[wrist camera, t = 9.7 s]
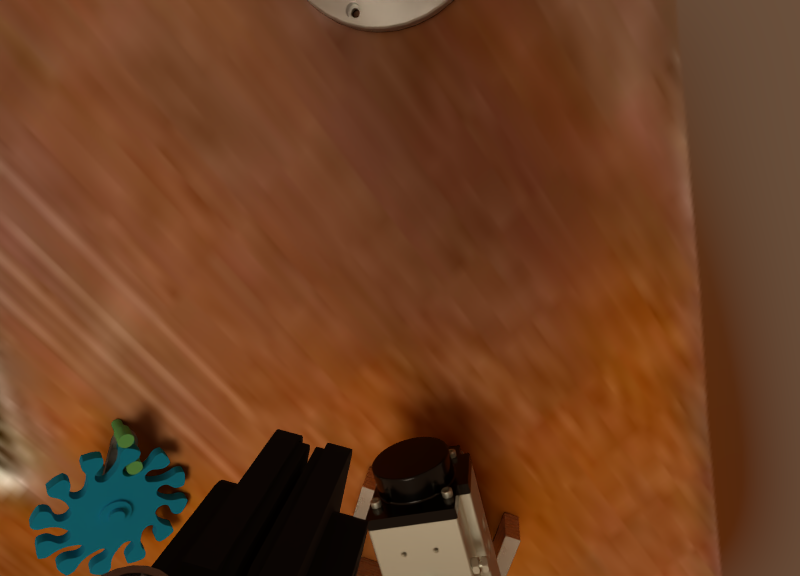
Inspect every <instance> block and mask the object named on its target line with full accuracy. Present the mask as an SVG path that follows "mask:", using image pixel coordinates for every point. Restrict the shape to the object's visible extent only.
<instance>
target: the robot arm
mask: <svg viewBox="0 0 800 576" xmlns="http://www.w3.org/2000/svg"><path fill="white" fill-rule="evenodd" d="M307 1H308V2H309V3H310V4H311V5H312V6H314V7H315V8H316V9H317V10H318V11H320V12H321V13H322V14H324V15H326V16H327V17H329V18H331V19H332V20H334V21H336V22H337V23H339V24H342V25H345V26H348V27H351V28H354V29H357V30H363V31H372V32H386V31H397V30H401V29H404V28H407V27H411V26H414V25H417V24H419V23H421V22H423V21H425V20H427V19H429V18H430V17H432V16H434V15H436V14H437V13H439V12H440V11H441V10H442V9H444V8H445V7H446V6H447V5H448V4H450V3H451V2H452V1H453V0H307ZM355 10H359V11H360V15H359V17H357V18H354V17H353V12H354V11H355ZM302 442H303V437H302V435H298V434H294V433H290V432H287V431H283V430H279V429H278V430H276V432H275V433H274V434H273V436H272V437H271V438H270V440H269V441H268V443H267V444H266V445H265V447H264V448H263V449H262V451H261V452H260V454H259V455H258V456H257V458H256V459H255V461H254V462H253V463H252V465H251V466H250V468H249V469H248V470H247V472H246V473H245V475H244V476H243V477H242V479H241V480H240V481H239V483H238V484H236V483H232V482H229V481H225V480H221V481H219V482H218V483H217V484H216V485H215V486H214V487H213V488H212V490H211V491H210V492H209V494H208V495H207V496H206V497H205V499H204V500H203V501H202V503H201V504H200V505H199V506H198V508H197V509H196V510H195V511H194V513H193V514H192V515H191V517H190V518H189V519H188V520H187V522H186V523H185V524H184V526H183V527H182V528H181V529H180V531H179V532H178V533H177V534H176V536H175V537H174V538H173V540H172V541H171V542H170V543H169V545H168V546H167V547H166V549H165V550H164V551H163V552H162V554H161V555H160V556H159V557H158V559H157V560H156V561H155V563H154V564H153V565H152V566H151V567H149V566H134V565H133V566H127V567H122V568H117V569H115V570H112V571H110V572H108V573H105V574H103V575H101V576H356V575H357V571H358V567H359V563H360V559H361V555H362V551H363V547H364V542H365V538H366V534H367V529H368V524H369V521H368V520H364V519H361V518H357V517H353V516H350V515H346V514H343V513H339V512H340V508H341V503H342V498H343V494H344V489H345V484H346V479H347V475H348V470H349V465H350V461H351V456H352V449H350V448H346V447H342V446H339V445H335V444H331V443H327V445H326V446H325V448H324V449H323V448H319V447H316V448H315V450H314V452H313V454H312V455H311V457H310V459H309V461H308V455H309V450H310V445H308V444H305V443H302ZM307 461H308V463H307Z"/></svg>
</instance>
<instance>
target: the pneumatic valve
mask: <svg viewBox="0 0 800 576" xmlns="http://www.w3.org/2000/svg"><path fill="white" fill-rule="evenodd" d="M372 472H373V476H374V479H375V482H376V488H375V491H374V494H373V497H372V500H371V501H370V503H371V504H370V507H369V510H368V513H367V516H366V519H365V520H368V521H369V524H368V531H369V534H370V538H371V541H372V544H373V547H374V551H375V554H376V557H377V561H378V564H379V567H380V570H381V574H382V576H501V574H500V570H499V566H498V563H497V559H496V555H495V551H494V547H493V543H492V539H491V535H490V532H489V528H488V524H487V520H486V516H485V512H484V508H483V504H482V501H481V497H480V493H479V489H478V485H477V481H476V477H475V473H474V470H473V466H472V462H471V458H470V454H469V453H465V454H463V451H461V449H460V446H459V445H457V446H451V447H448V446H447V445H446V443H445V442H443V441H442V440H440V439H437V438H432V437H418V438H412V439H407V440H404V441H401V442H399V443H396V444H394V445H392V446H390V447H388V448H387V449H385V450H384V451H382V452H381V453H380V454H379V455H378V456H377V457H376V459H375V460H374V462H373V464H372Z"/></svg>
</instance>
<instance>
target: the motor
mask: <svg viewBox="0 0 800 576" xmlns="http://www.w3.org/2000/svg"><path fill="white" fill-rule="evenodd" d="M375 488H376V482H375V479H374V476H373V472H372V467H369V470H368V473H367V476H366V478H365V481H364V484H363V487H362V490H361V493H360V496H359V500H358V503H357V506H356V509H355V513H354V516H353V517H357V518H361V519H364V520H365V519H366V516H367V513H368V510H369V507H370V504H371V503H370V501H371V500H372V497H373V494H374V491H375ZM519 543H520V531H519V521H518V517H517V516H514V515H511V514H508V513H505V512H504V515H503V517H502V520H501V522H500V525H499V527H498V530H497V533H496V535H495V538H494V540H493V547H494V551H495V555H496V559H497V563H498V566H499V570H500V574H501V576H506V575H507V573H508V570H509V568H510V565H511V563H512V560H513V558H514V556H515V553H516V551H517V548H518V546H519ZM356 576H382V574H381V570H380V567H379V564H378V562H375V561H372V560H369V559H367V558H364V557H361V559H360V563H359V567H358V571H357V575H356Z"/></svg>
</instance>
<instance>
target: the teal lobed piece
mask: <svg viewBox="0 0 800 576" xmlns="http://www.w3.org/2000/svg"><path fill="white" fill-rule="evenodd" d="M111 425H112V428H113V430H114V435H113V437H112V439H111V443H110V447H109V451H108V455H107V459H106V463H105V466H103V459H102V456H101V453H100V452H91V453H87V454H84V455H81V457H80V460H79V461H80V465H81V468H82V470H83V471H84V473H85V474H86V480H85V484H84V487H83V488H82V489H81V490H80V491H78V492H70V482H69V478H68V476H67V475H66V474H63V473H61V474H59V475H57V476H55V477H54V478H52V479H51V480H50V481H49V482H48V483H46V489H47V493H48V495H49V496H50V497H52V498H58V499H61V500H63V501H64V502H65V503H67V505H68V506H69V509H68V510H67V511H66V512H65V513H63V514H59V515H57V514H54V513H53V512H52V510H51V508H50V507H49V506H48V505H44V504H41V505H38V506H37V507H36V508H35V509H34V511H33V512H32V514H31V516H30V519H29V523H30V528H32V529H34V530H40V529H43V528H48V527H59V528H63V529H66V530H68V532H67V533H65V534H64V535H61V536H55V535H52V534H48V533H45V534H41V535H39V536H37V537H36V539H35V547H36V554H37V557H38V559H42V558H46V557H48V556H50V555H51V554H53V553H54V552H56V551H57V550H60V549H62V548H65V547H68V546H73V545H82V546H81V547H80V548H78V549H76V550H72V551H66V552H63V553H61V554H59V555H58V556H57V557H56V559H55V560H56V566H57V569H58V570H59V571H60V572H61V573H63V574H65V575H69V574H71V573H72V572H74V571H75V570H76V568H77V566H78V565H79V564H80V562H81V561H82V560H83V559H84V558H86V557H87V556H88V555H90V554H92V553H93V552H95V551H97V550H99V549H103V548H104V549H105V550H104V551H102V552H101V553H99V554H97V555H95V556H94V557H93V558H92V559H91V560H90V561H89V569H90V573H92V574H96V575H103V574H105V573H108V572H109V570H110V568H111V560H112V557H113V555H114V554H115V552H116V551H117V550H118V548H119V547H120V546H121V545H122V544H123V543H125V542H127V541H131V542H130V543H129V544H128V546H127V547H126V548H125V550H124V555H125V558H126V561H127V563H132V562H136V561H138V560H141V559H143V558H144V557H145V554H146V553H145V550H144V547H143V545H142V543H141V542H140V539H141V534H142V531H143V530H144V529H145V528H146V527H147V526H150V525H153V528H152V531H153V534H154V536H155V538H156V540H157V541H162V540H164V539H165V538H166V537H168V536H169V535H170V534H171V533H172V532H173V528H172V526H171V523H170V521H169V520H166V519H162V518H160V517H158V516H157V515H156V514H155V512H156V510H157V508H158V507H160V506H162V505H168V506H169V508H170V510H171V512H172V513H174V514H179V513H181V512H182V511H183V509H184V508H185V506H186V504H187V501H188V500H187V498H186V496H185V495H184V493H182V492H177V493H173V494H164V493H160V492H158V491H157V490H158V488H159V487H161V486H162V485H170V486H172V487H174V488H178V487H181V486H183V485H184V483H185V474H184V471H183V469H182V467H181V466H176V467H173V468H172V469H170V470H169V471H167V472H165V473H163V474H160V475H156V476H145V475H146V474H147V473H148V472H149V471H150V470H154V469H163V468H165V467H166V466H168V465H169V463H170V461H169V459H168V457H167V455H166V453H165V452H164V451H163V450H162V449H161V448H160V447H158V448H156V449H154V450H153V451H152V452H151V453H150V455H149V456H148V457H147V459H146V460H145V461H144V462H141V460H140V458H139V456H140V453H141V452H140V450H139V448H138V446H137V445H138V438H137V436H136V434H135V432H134V431H133V430H131V429H130V428H129V427H128V426H126V425H123V423H122V421H121V420H120V419H116V420H114V421H113V422H112V424H111Z"/></svg>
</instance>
